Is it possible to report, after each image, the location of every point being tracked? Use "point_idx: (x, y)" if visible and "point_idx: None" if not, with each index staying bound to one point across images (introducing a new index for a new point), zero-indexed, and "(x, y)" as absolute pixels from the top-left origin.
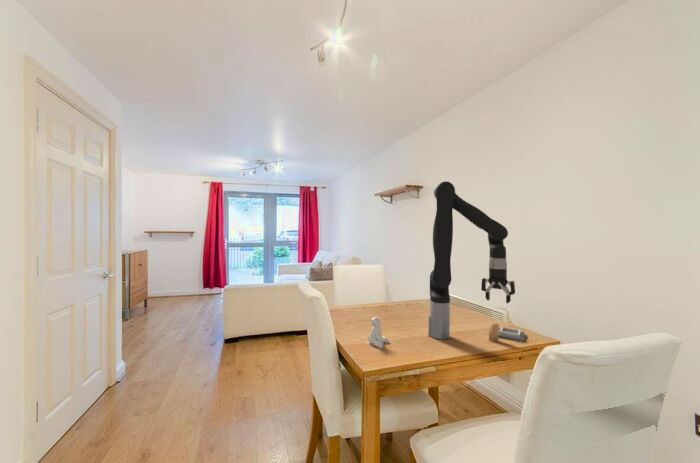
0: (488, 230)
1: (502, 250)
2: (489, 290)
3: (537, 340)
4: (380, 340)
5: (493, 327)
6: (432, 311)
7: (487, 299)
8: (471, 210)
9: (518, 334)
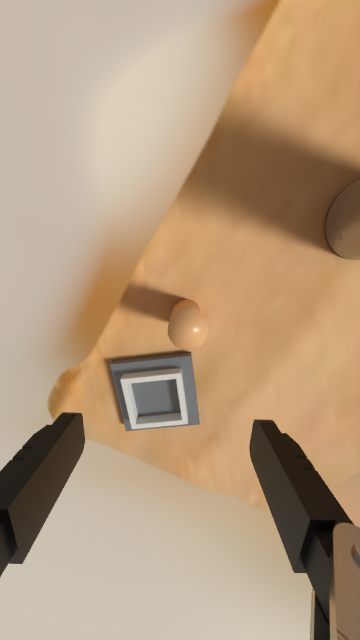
0: None
1: None
2: (320, 621)
3: (89, 401)
4: None
5: (184, 309)
6: None
7: (267, 423)
8: None
9: (123, 379)
